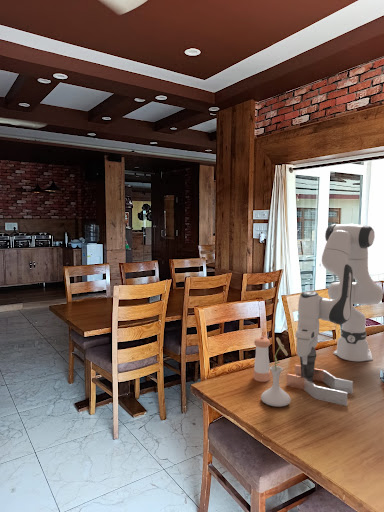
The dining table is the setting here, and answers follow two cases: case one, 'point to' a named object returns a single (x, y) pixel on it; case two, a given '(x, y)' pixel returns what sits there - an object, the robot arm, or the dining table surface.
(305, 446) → the dining table surface
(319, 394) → the rail track
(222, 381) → the dining table surface
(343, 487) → the dining table surface
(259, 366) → the pepper shaker
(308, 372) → the beverage cup
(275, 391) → the flower in vase
